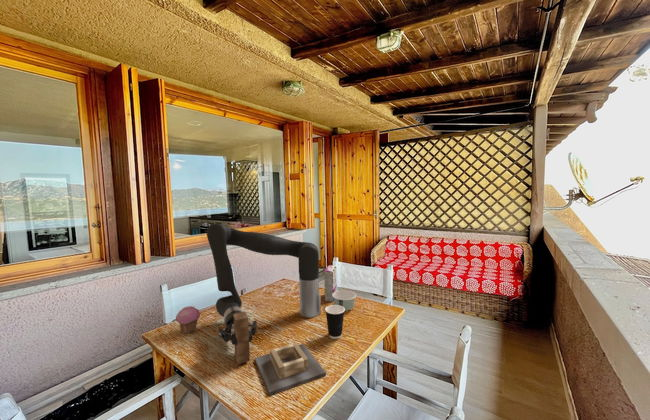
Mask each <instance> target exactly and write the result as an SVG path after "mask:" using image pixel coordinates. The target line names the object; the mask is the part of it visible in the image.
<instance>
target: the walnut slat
mask: <svg viewBox="0 0 650 420" xmlns="http://www.w3.org/2000/svg"><path fill="white" fill-rule="evenodd" d="M233 315H234V334H235V336H236V339H237V346H235V345H234V357H235V360H236V364H237V365H240V364H243V363H247V362H250V360H251V356H250V353H251V352H250V342H249V328H250V327H249V323H250V322H249V316H248V314H247V312H246V311H243V312H241V313H236V314H233Z"/></svg>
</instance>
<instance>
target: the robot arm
mask: <svg viewBox="0 0 650 420" xmlns="http://www.w3.org/2000/svg"><path fill="white" fill-rule="evenodd" d="M206 238H207V242H208V244H209V247H210V250H211V255H212V258H213V263H214V269H215V277H216V282H217V288H218V291H219V292H229V293H230V294H231V295H227V296H222V297H219V298H218V299H217V301H216V302H215V310H216V312H217V313H218V314H219V316H221V317H223V322H224V325H225V328H221V327H219V328H218V329H217V330H218V337H219V338H220V339H221V340H222V341H224V342H226V343H228V342H229V341H230V342H231V344H232V345H234V347H235V346H237V339H236V336H235V334H234V315H233V314H236V313H241V312H244V311H243V310H242V304H243V303H242V299H241V297H240V294H239V292H238V290H237V288H236V284H235V279H234V272H233V267H232V265H231V261H230V259H229V255H228V248H227V246H233V247H240V248H243V249H246V250H248V251H250V252H254V253H258V254H263V255H267V256H268V255H269V256H290V257H295V258H297V259H298V277H299V279H298V280H299V281H298V285H299V287H298V288H299V289H298V291H299V296H298V297H299V316H301V317H303V318H311V319H312V318H315V317H317V316H318V315H321V314H322V299H321V297H322V295H321V293H320V285H319V284H320V275H319V274H320V268H319V267H320V255H319V254H320V253H319V249H318V247H317V246H316V245H315V244H314V243H312V242H305V241H298V240H291V239H287V238H284V237H281V236H275V235H272V234H269V233H264V232H263V233H262V232H257V231H256V232H255V231H244V230H240V229H236V228H233V227H229V226H227V225H225V224H221V223H212V224H211V225H210V226H209V227H208V228H207V230H206ZM257 329H258V322H257V320H253V321H252V322H249V343H251V342H252V340H253V339H254V337H253V336H256V334H257Z"/></svg>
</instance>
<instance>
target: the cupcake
mask: <svg viewBox="0 0 650 420" xmlns="http://www.w3.org/2000/svg"><path fill="white" fill-rule="evenodd" d="M200 317H201V312H200V310H199V309H198V308H196V307H195V306H193V305H188V306H186V307H185V306H184V307H183V308H182V309H180V310H179V311H178V312H177V314H176V316H175V321H176V322H177V323H178V324H179V328H180V332H181V333H184V334H189V333H191V332H193V331H196V329H197V325H198V321H199V320H198V319H199V318H200Z"/></svg>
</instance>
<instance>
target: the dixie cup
mask: <svg viewBox="0 0 650 420" xmlns="http://www.w3.org/2000/svg"><path fill="white" fill-rule="evenodd" d="M324 311H325V315H326V322H327V324H326V325H327V331H328V335H329V338H330V339H332V340H338V339H340V338H341V337H342V335H343V325H344V318H345V312H344V311H345V308H344V307H342V306H339V305H334V304H330V305H327V306H326V307H325V308H324Z"/></svg>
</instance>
